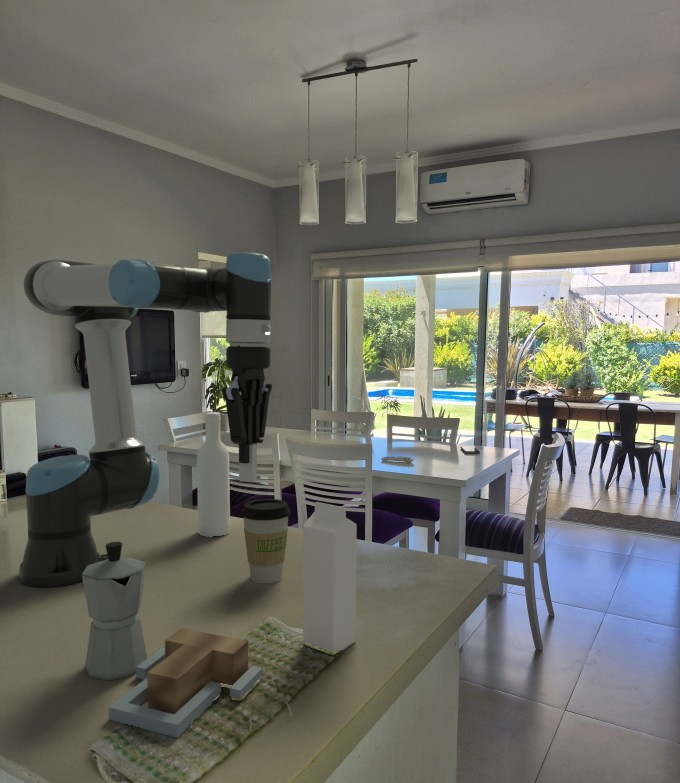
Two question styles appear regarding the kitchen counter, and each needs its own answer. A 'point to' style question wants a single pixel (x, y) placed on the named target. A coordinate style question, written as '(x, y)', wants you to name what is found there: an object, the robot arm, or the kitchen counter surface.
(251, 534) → the coffee cup
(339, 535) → the milk
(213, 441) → the bottle
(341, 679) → the kitchen counter surface
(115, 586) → the coffee maker
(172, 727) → the t bay
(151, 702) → the t block
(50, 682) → the kitchen counter surface
